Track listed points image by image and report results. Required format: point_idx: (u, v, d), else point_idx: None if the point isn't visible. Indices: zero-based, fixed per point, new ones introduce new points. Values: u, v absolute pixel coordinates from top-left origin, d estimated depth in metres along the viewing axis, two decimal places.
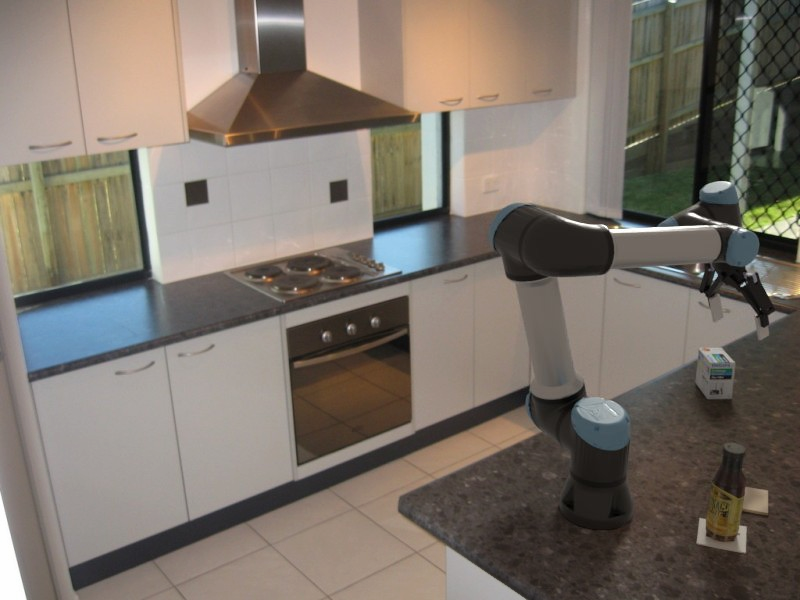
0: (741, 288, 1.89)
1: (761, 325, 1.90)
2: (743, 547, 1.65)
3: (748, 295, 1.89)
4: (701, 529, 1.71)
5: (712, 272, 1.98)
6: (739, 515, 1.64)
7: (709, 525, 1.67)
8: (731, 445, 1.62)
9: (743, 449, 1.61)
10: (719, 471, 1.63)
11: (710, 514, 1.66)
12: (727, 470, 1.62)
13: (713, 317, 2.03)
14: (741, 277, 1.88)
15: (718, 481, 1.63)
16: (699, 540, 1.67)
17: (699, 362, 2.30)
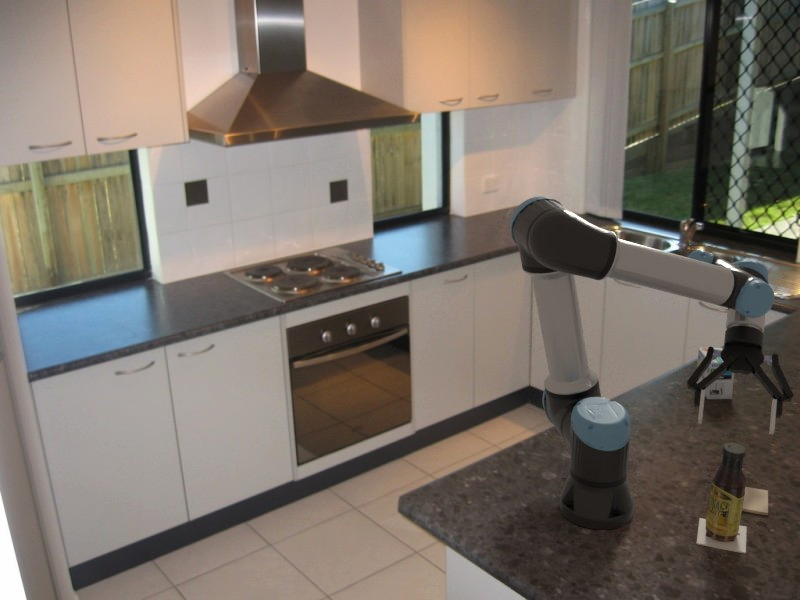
0: None
1: (776, 413, 1.69)
2: (743, 547, 1.65)
3: (767, 377, 1.73)
4: (701, 529, 1.71)
5: (709, 362, 1.78)
6: (739, 515, 1.64)
7: (709, 525, 1.67)
8: (731, 445, 1.62)
9: (743, 449, 1.61)
10: (719, 471, 1.63)
11: (710, 514, 1.66)
12: (727, 470, 1.62)
13: (700, 413, 1.73)
14: (762, 357, 1.75)
15: (718, 481, 1.63)
16: (699, 540, 1.67)
17: (699, 362, 2.30)
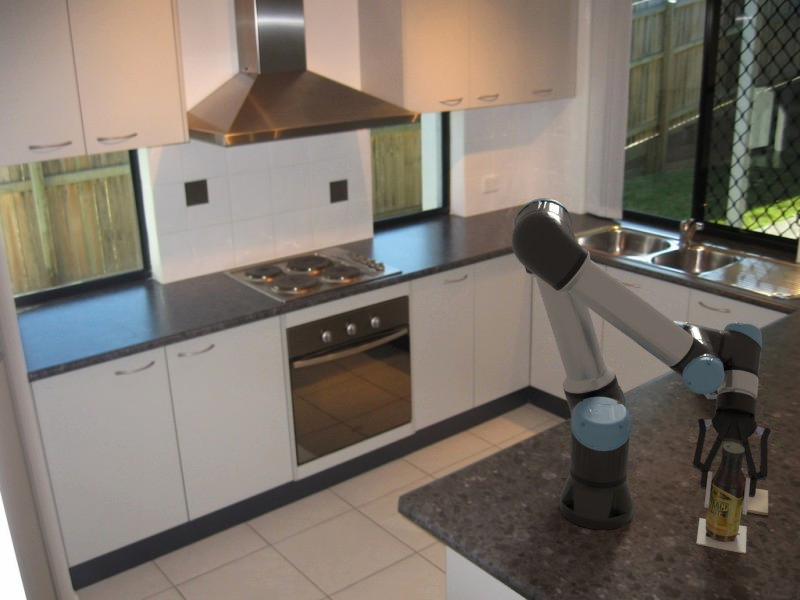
0: (748, 441, 1.66)
1: (750, 493, 1.62)
2: (743, 547, 1.65)
3: (750, 452, 1.65)
4: (701, 529, 1.71)
5: (705, 435, 1.70)
6: (739, 515, 1.64)
7: (709, 525, 1.67)
8: (730, 445, 1.62)
9: (742, 449, 1.61)
10: (718, 471, 1.63)
11: (709, 514, 1.66)
12: (727, 470, 1.62)
13: (707, 497, 1.63)
14: (755, 427, 1.67)
15: (718, 481, 1.63)
16: (699, 540, 1.67)
17: None
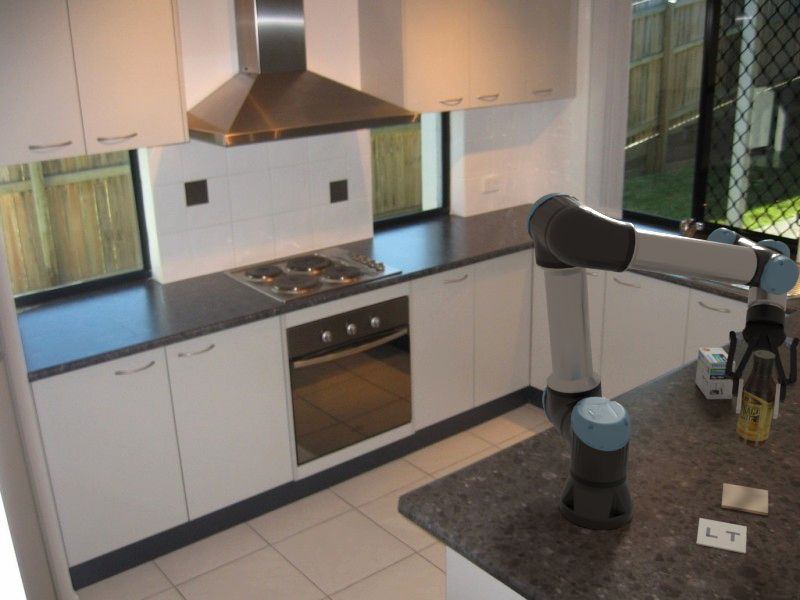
0: (778, 350, 1.73)
1: (780, 398, 1.69)
2: (743, 547, 1.65)
3: (780, 360, 1.72)
4: (701, 529, 1.71)
5: None
6: (769, 420, 1.71)
7: (740, 431, 1.74)
8: (762, 352, 1.69)
9: (773, 355, 1.68)
10: (750, 377, 1.70)
11: (740, 420, 1.73)
12: (758, 376, 1.69)
13: (739, 403, 1.70)
14: (784, 337, 1.74)
15: (749, 386, 1.70)
16: (699, 540, 1.67)
17: (699, 362, 2.30)
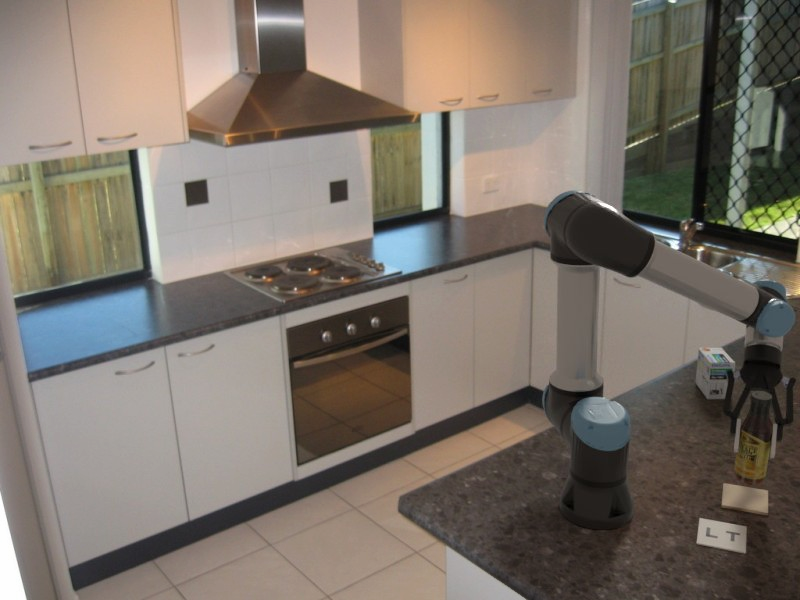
0: (774, 389, 1.76)
1: (777, 437, 1.72)
2: (743, 547, 1.65)
3: (777, 400, 1.75)
4: (701, 529, 1.71)
5: None
6: (766, 459, 1.75)
7: (737, 469, 1.77)
8: (759, 393, 1.72)
9: (770, 396, 1.71)
10: (747, 417, 1.74)
11: (738, 459, 1.76)
12: (755, 416, 1.72)
13: (737, 442, 1.73)
14: (781, 377, 1.77)
15: (747, 426, 1.73)
16: (699, 540, 1.67)
17: (699, 362, 2.30)
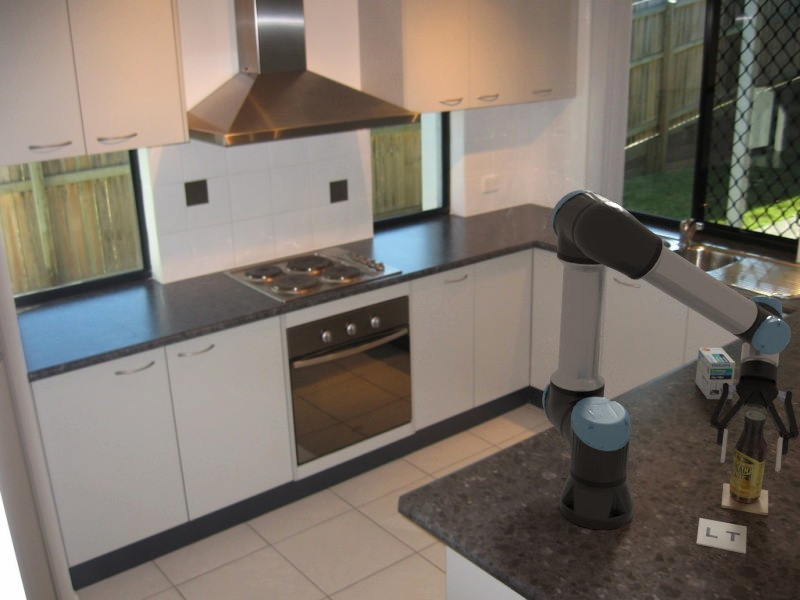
0: None
1: (782, 451, 1.73)
2: (743, 547, 1.65)
3: (777, 414, 1.76)
4: (701, 529, 1.71)
5: (726, 398, 1.82)
6: (761, 478, 1.76)
7: (732, 488, 1.79)
8: (752, 413, 1.73)
9: (763, 416, 1.72)
10: (741, 437, 1.75)
11: (733, 478, 1.78)
12: (749, 436, 1.73)
13: (723, 453, 1.75)
14: (777, 392, 1.78)
15: (741, 446, 1.74)
16: (699, 540, 1.67)
17: (699, 362, 2.30)
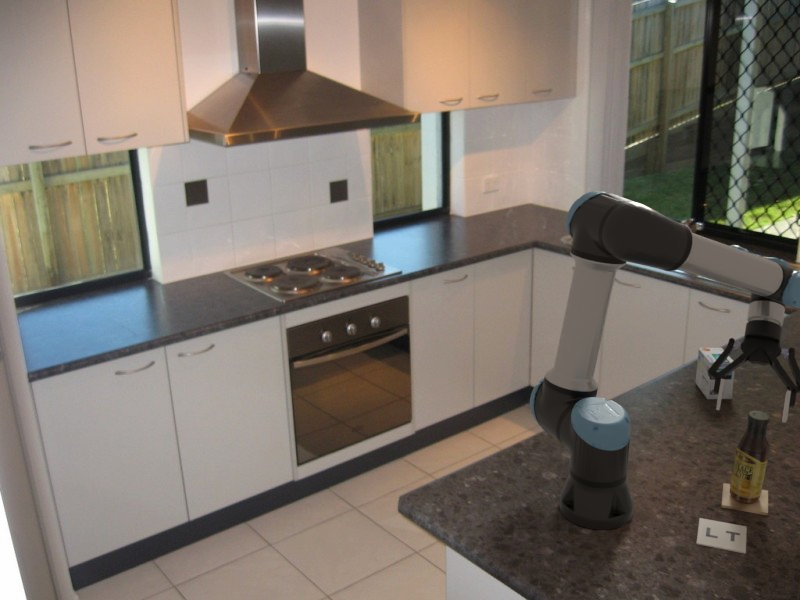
0: None
1: (790, 403, 1.83)
2: (743, 547, 1.65)
3: (783, 369, 1.86)
4: (701, 529, 1.71)
5: (730, 353, 1.91)
6: (762, 479, 1.76)
7: (733, 488, 1.79)
8: (756, 413, 1.74)
9: (767, 416, 1.72)
10: (744, 437, 1.75)
11: (734, 477, 1.78)
12: (752, 436, 1.73)
13: (719, 401, 1.87)
14: (780, 350, 1.87)
15: (743, 446, 1.75)
16: (699, 540, 1.67)
17: (699, 362, 2.30)
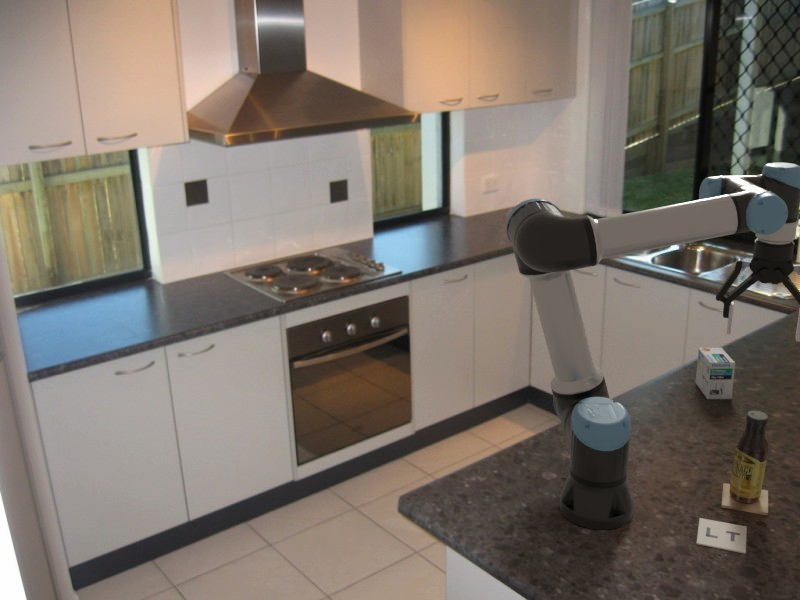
0: (790, 282, 1.74)
1: None
2: (743, 547, 1.65)
3: (796, 289, 1.74)
4: (701, 529, 1.71)
5: None
6: (761, 479, 1.76)
7: (733, 488, 1.79)
8: (755, 413, 1.74)
9: (766, 416, 1.72)
10: (743, 437, 1.75)
11: (734, 477, 1.78)
12: (751, 436, 1.73)
13: (729, 328, 1.81)
14: (792, 269, 1.73)
15: (742, 446, 1.75)
16: (699, 540, 1.67)
17: (699, 362, 2.30)
